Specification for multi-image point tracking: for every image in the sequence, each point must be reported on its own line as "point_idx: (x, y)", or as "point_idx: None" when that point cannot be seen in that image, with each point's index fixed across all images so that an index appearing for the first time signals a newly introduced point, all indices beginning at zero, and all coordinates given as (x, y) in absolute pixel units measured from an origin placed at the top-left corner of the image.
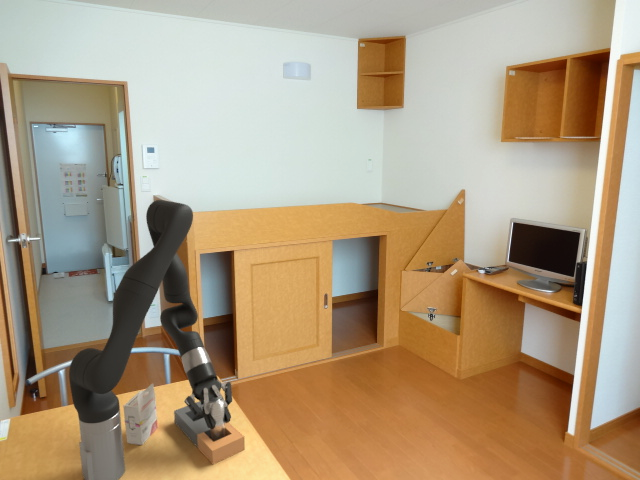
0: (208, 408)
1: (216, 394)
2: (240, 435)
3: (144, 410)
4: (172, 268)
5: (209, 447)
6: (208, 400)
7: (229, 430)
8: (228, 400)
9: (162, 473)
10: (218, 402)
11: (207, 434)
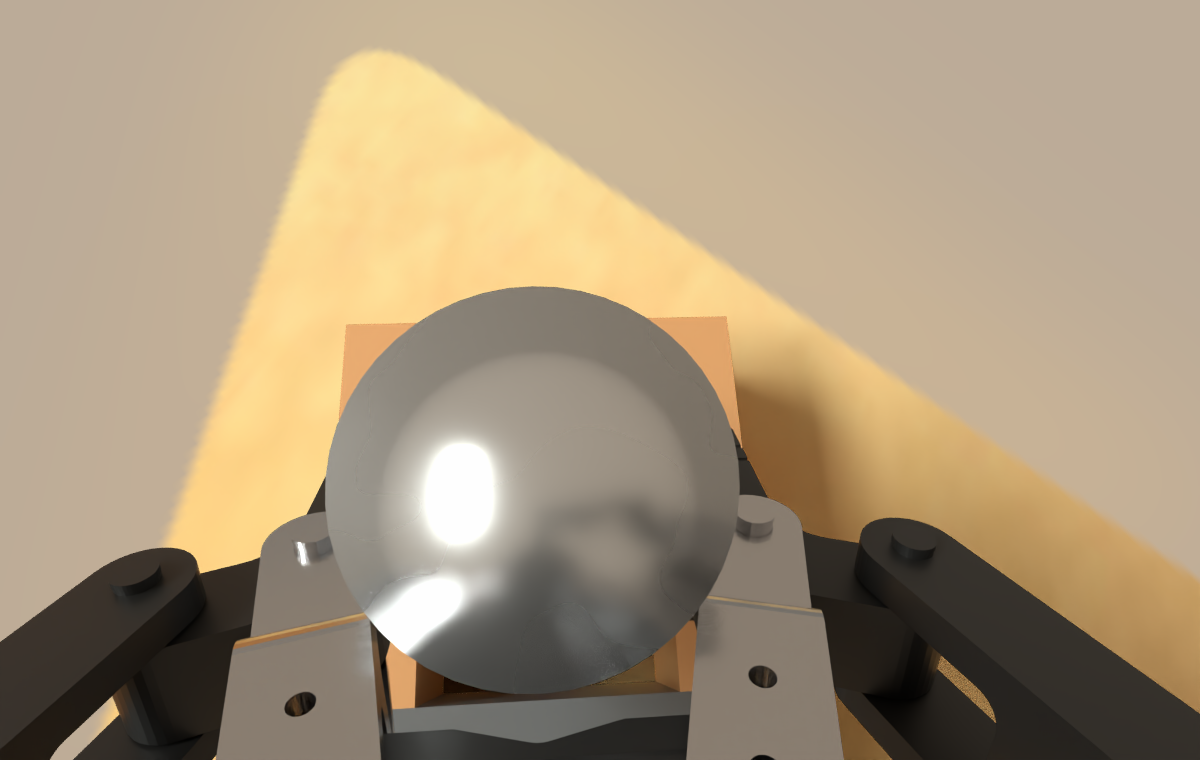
0: None
1: (378, 750)
2: (367, 363)
3: None
4: None
5: (732, 378)
6: (703, 656)
7: None
8: (172, 592)
9: (1092, 521)
10: (519, 391)
11: (627, 689)
